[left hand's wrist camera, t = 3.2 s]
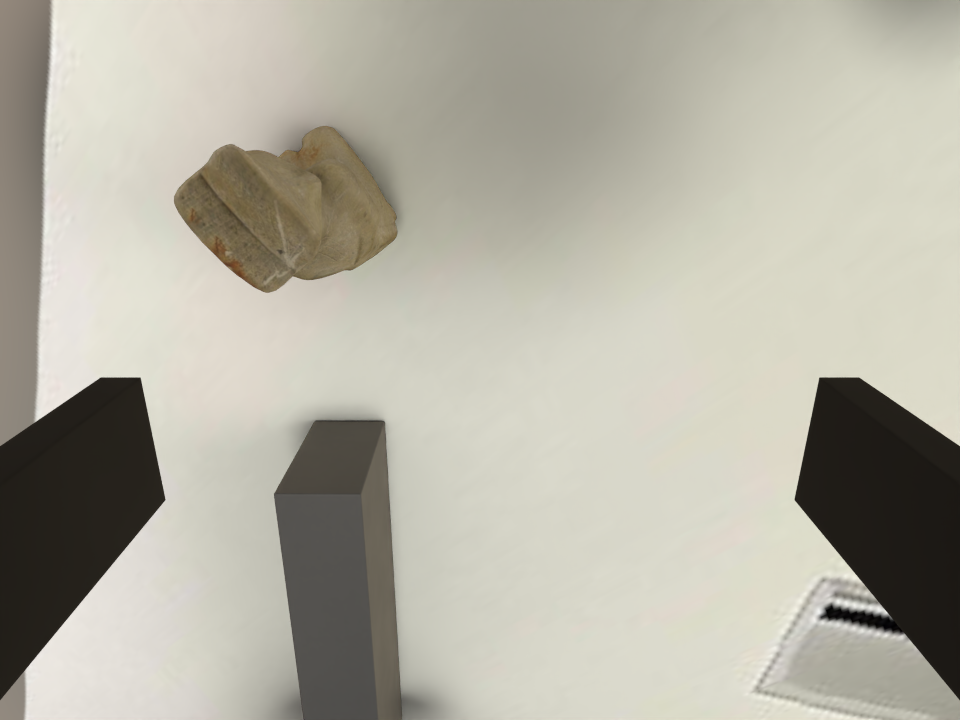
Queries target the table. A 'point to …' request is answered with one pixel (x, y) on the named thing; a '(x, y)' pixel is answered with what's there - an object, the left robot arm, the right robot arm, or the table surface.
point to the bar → (341, 573)
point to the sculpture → (288, 210)
